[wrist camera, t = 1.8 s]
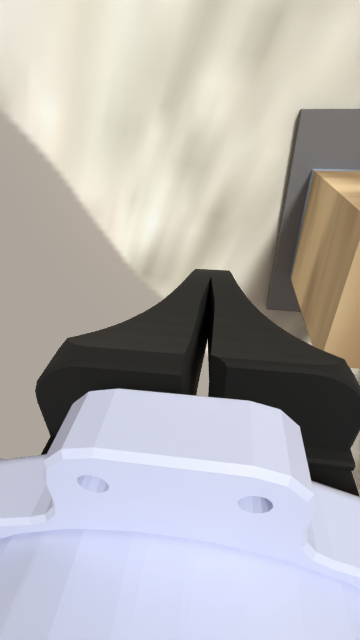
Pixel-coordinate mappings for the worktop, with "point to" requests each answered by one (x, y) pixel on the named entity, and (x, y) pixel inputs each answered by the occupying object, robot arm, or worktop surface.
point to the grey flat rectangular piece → (309, 153)
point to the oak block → (330, 263)
